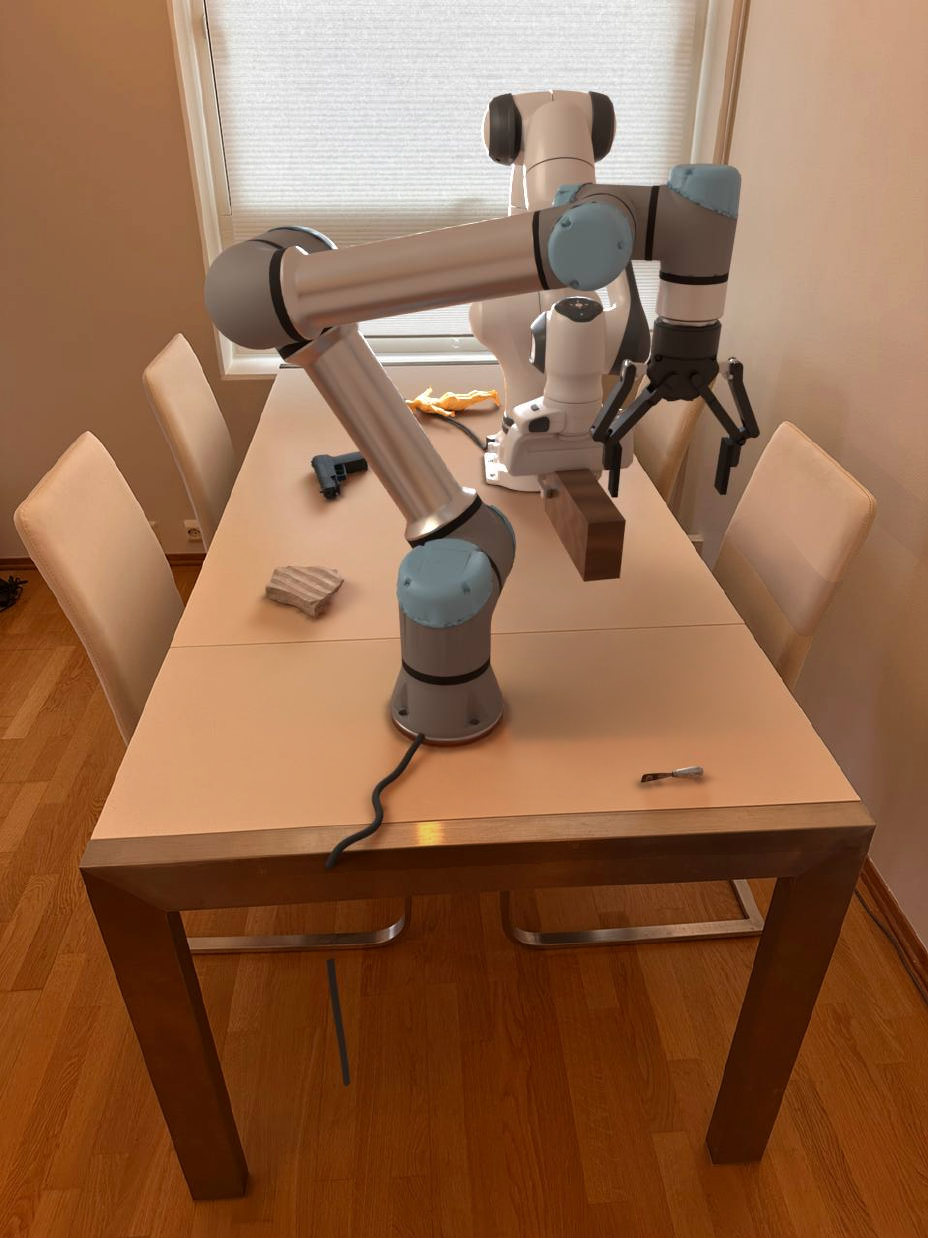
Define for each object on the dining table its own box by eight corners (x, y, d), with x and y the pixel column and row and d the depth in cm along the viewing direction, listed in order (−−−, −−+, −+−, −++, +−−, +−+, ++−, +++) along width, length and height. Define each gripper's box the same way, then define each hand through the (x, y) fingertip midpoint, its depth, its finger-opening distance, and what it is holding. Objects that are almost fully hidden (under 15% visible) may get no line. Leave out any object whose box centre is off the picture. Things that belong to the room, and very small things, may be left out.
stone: (354, 583, 150) (352, 570, 149) (317, 618, 141) (316, 605, 140) (288, 570, 155) (286, 557, 153) (249, 603, 145) (246, 590, 144)
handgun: (379, 494, 182) (320, 501, 179) (364, 462, 196) (309, 468, 193) (378, 480, 180) (319, 487, 178) (363, 448, 194) (308, 454, 192)
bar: (620, 578, 129) (626, 520, 124) (583, 581, 128) (588, 523, 123) (575, 508, 148) (579, 455, 143) (544, 510, 147) (546, 457, 142)
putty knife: (703, 777, 109) (705, 767, 109) (642, 788, 108) (644, 777, 107) (700, 772, 110) (702, 762, 109) (639, 782, 109) (640, 771, 108)
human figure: (395, 413, 223) (394, 398, 221) (438, 390, 237) (438, 375, 235) (462, 429, 215) (462, 413, 213) (502, 404, 229) (503, 388, 227)
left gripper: (785, 308, 104) (754, 477, 115) (573, 311, 103) (563, 482, 114) (809, 324, 98) (774, 501, 109) (583, 328, 97) (572, 507, 108)
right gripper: (630, 401, 139) (622, 483, 147) (502, 409, 136) (500, 492, 144) (644, 415, 134) (635, 499, 141) (511, 423, 131) (509, 509, 139)
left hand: (666, 492), depth 112 cm, fingers open, 13 cm apart
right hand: (566, 495), depth 143 cm, fingers closed on bar, 5 cm apart
